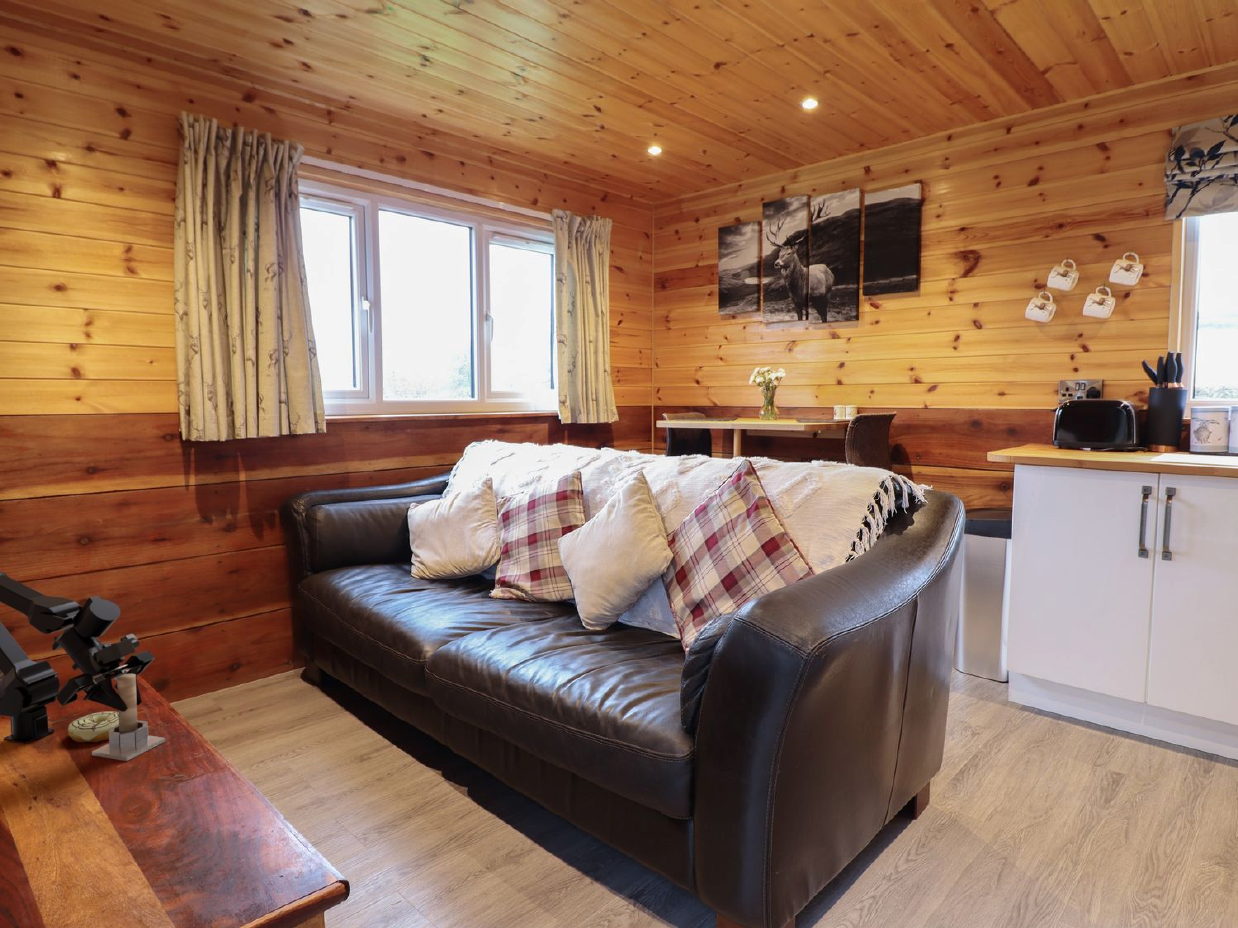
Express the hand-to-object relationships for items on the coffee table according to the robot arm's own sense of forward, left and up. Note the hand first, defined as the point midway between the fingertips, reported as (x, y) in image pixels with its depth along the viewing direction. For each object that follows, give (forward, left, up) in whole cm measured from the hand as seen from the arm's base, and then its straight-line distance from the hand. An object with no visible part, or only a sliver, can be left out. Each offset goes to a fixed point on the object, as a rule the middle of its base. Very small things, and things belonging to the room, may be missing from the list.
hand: (133, 706), depth 151 cm
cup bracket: (-1, 0, -9) cm, 9 cm away
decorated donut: (-14, +3, -9) cm, 17 cm away
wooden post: (-1, 0, -7) cm, 7 cm away
